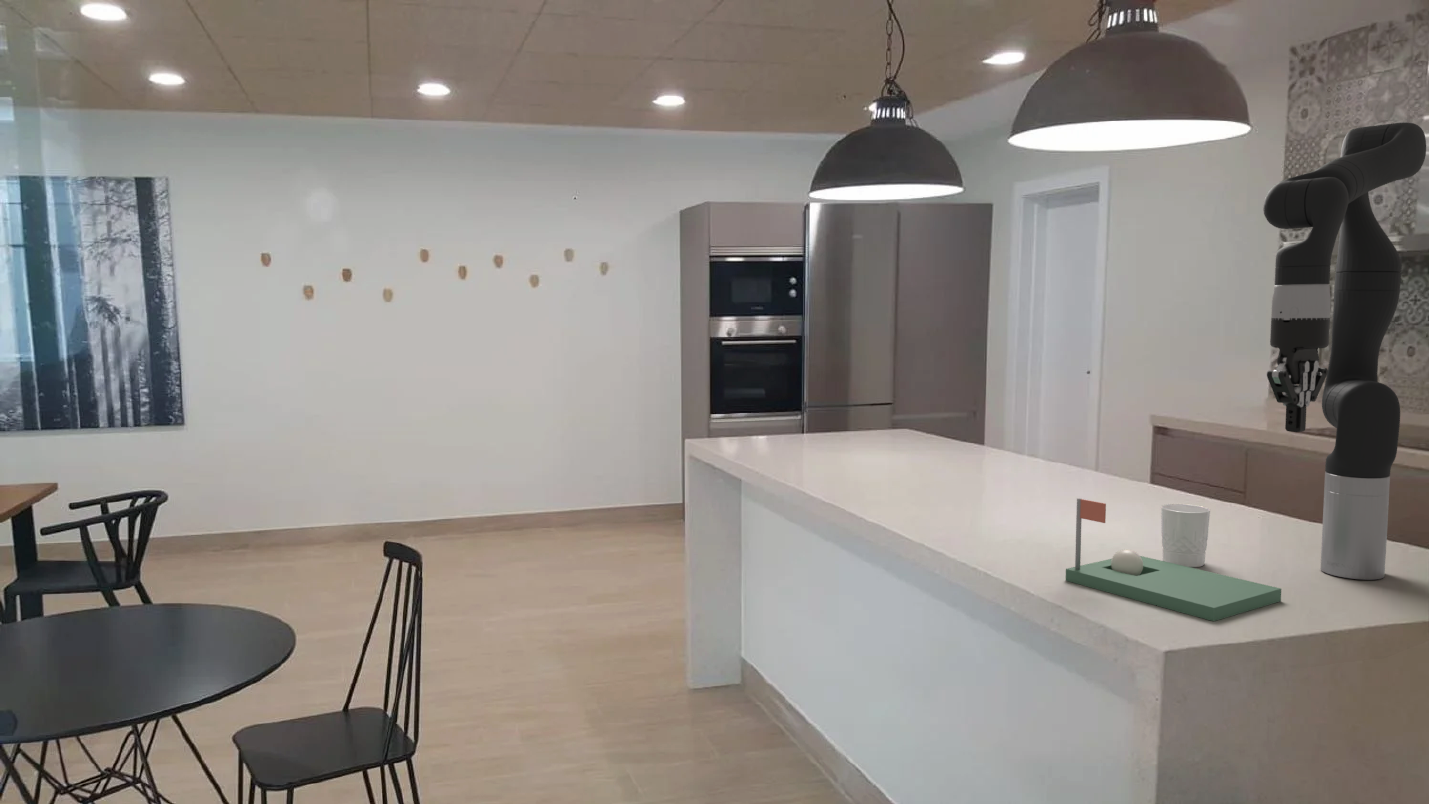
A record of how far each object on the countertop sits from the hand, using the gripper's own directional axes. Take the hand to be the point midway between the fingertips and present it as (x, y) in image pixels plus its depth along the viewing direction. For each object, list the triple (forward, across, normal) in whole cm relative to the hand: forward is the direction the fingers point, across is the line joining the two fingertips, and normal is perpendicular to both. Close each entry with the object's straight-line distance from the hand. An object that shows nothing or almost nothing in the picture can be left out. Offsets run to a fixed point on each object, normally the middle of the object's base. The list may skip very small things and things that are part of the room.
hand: (1295, 431), depth 146 cm
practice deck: (+27, +7, -15) cm, 32 cm away
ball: (+24, +7, -23) cm, 34 cm away
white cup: (+27, -11, -24) cm, 38 cm away
